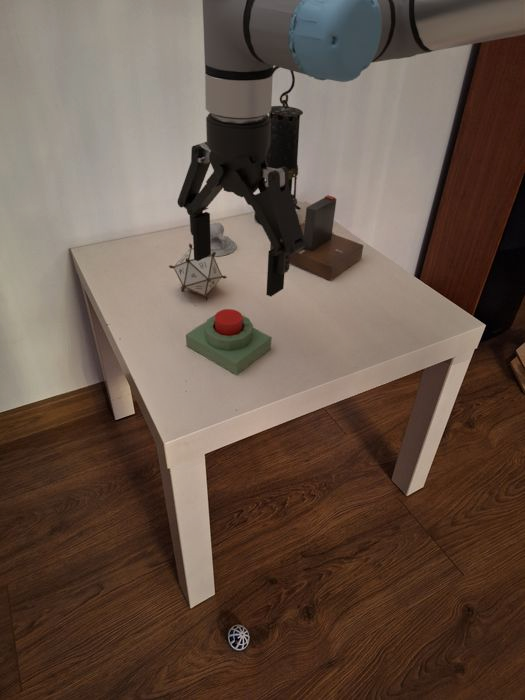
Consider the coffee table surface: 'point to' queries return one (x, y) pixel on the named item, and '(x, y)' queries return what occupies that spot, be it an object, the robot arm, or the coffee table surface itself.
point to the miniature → (220, 241)
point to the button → (228, 322)
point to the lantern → (284, 139)
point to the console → (327, 256)
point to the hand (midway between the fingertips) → (237, 273)
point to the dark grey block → (319, 222)
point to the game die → (197, 273)
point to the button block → (229, 345)
